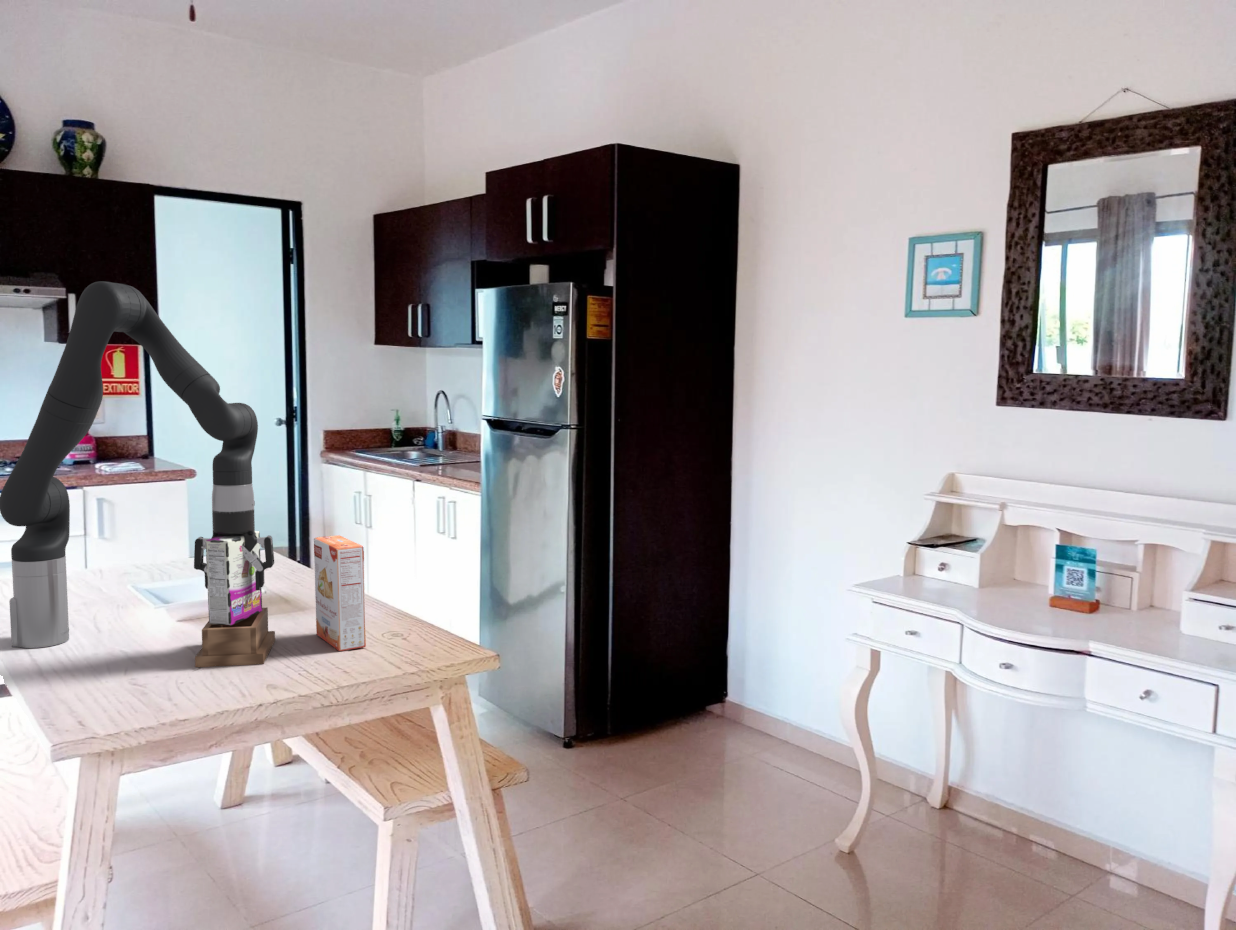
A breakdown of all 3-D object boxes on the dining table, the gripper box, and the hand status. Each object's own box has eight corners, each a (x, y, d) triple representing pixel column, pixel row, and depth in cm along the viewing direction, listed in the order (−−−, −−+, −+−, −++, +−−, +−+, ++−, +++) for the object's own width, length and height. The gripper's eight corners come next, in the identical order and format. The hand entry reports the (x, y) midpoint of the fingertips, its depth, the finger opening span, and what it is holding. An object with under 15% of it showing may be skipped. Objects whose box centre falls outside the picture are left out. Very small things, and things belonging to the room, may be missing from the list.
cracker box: (314, 636, 201) (312, 536, 199) (342, 631, 205) (341, 534, 203) (337, 652, 190) (335, 547, 188) (366, 647, 193) (365, 544, 191)
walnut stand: (195, 667, 179) (194, 630, 179) (212, 643, 195) (211, 609, 194) (263, 663, 182) (262, 627, 181) (275, 640, 197) (274, 606, 197)
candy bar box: (240, 610, 194) (238, 529, 192) (263, 611, 193) (261, 530, 191) (206, 624, 183) (204, 538, 181) (230, 626, 182) (228, 540, 180)
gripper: (189, 510, 180) (191, 595, 182) (269, 509, 183) (271, 593, 185) (197, 505, 188) (200, 587, 189) (274, 503, 191) (276, 584, 192)
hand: (235, 590), depth 187 cm, fingers open, 8 cm apart
